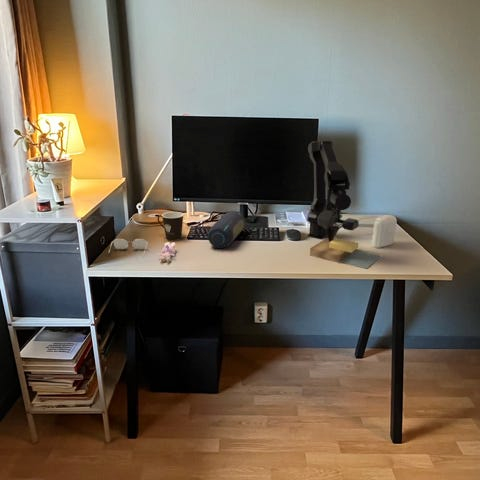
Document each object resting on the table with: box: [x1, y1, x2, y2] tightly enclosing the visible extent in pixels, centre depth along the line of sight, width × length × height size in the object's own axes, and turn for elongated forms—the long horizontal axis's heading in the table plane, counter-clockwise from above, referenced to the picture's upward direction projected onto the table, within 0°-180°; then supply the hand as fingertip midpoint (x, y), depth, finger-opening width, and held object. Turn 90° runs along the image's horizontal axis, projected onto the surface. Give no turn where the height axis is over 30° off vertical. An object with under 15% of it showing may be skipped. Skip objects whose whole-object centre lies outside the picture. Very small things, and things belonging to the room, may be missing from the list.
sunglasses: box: [108, 238, 149, 258], centre depth 176 cm, size 14×8×5 cm, turn 90°
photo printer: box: [371, 214, 398, 249], centre depth 184 cm, size 10×4×12 cm, turn 123°
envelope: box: [340, 213, 379, 228], centre depth 213 cm, size 24×2×14 cm
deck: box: [309, 237, 358, 264], centre depth 178 cm, size 12×16×3 cm
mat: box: [340, 249, 382, 270], centre depth 172 cm, size 10×14×1 cm
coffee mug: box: [157, 211, 184, 242], centre depth 192 cm, size 12×9×10 cm
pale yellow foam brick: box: [329, 237, 359, 253], centre depth 175 cm, size 9×6×2 cm, turn 55°
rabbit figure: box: [158, 241, 176, 264], centre depth 173 cm, size 6×6×15 cm
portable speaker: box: [207, 210, 246, 249], centre depth 189 cm, size 25×10×10 cm, turn 164°
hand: (330, 241), depth 177 cm, fingers closed
